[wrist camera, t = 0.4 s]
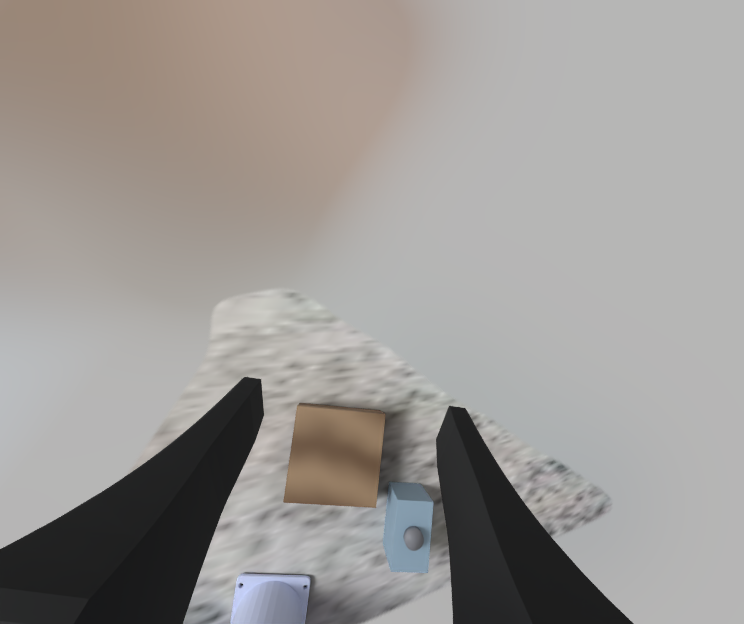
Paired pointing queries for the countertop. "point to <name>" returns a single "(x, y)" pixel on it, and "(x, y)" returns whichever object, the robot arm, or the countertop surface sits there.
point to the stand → (335, 456)
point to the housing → (408, 527)
